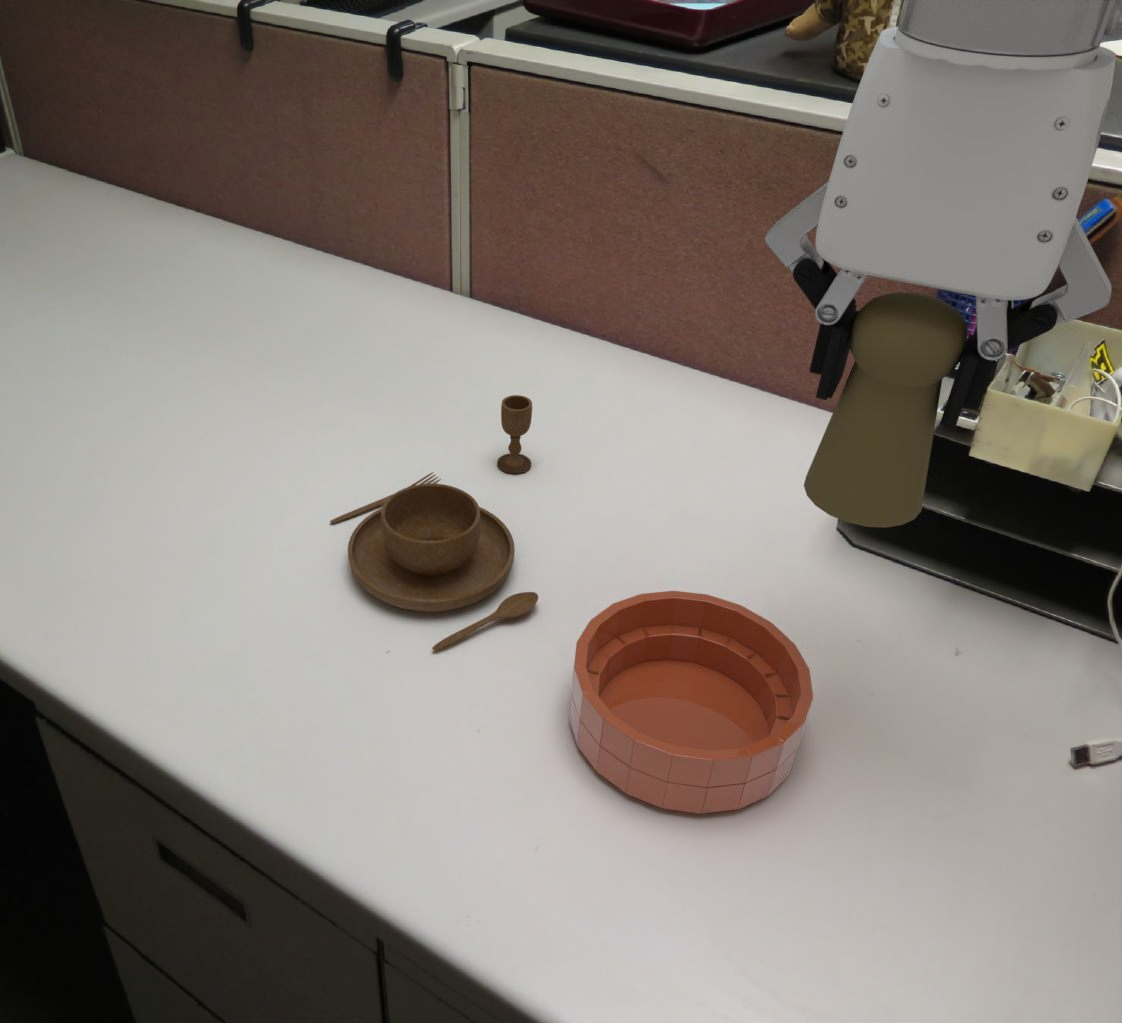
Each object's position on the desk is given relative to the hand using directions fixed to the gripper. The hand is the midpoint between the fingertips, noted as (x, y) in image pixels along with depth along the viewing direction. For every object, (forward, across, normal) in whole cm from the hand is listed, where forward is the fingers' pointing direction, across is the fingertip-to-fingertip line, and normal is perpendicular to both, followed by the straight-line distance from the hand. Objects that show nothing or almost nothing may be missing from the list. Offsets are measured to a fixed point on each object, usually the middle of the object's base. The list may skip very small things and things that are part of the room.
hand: (889, 398), depth 53 cm
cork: (+6, 0, 0) cm, 6 cm away
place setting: (+22, +25, -4) cm, 33 cm away
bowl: (+21, +6, +6) cm, 23 cm away
